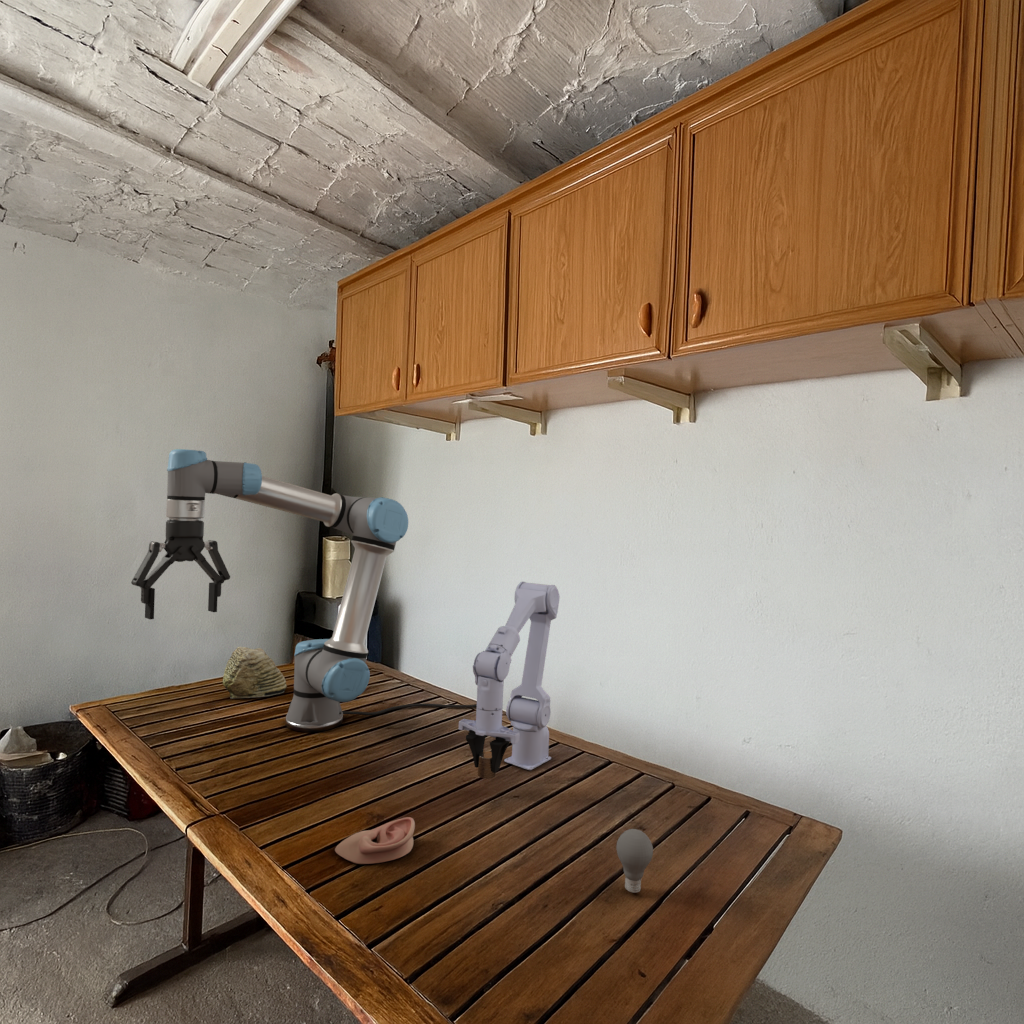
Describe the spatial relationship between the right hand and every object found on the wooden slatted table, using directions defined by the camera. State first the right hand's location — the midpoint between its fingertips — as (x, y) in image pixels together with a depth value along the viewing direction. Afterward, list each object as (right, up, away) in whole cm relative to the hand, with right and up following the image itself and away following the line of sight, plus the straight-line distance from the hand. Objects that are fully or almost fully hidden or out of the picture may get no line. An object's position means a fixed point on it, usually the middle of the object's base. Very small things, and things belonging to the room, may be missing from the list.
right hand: (486, 768), depth 139 cm
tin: (0, -1, 0) cm, 1 cm away
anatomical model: (-19, -5, -24) cm, 31 cm away
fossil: (-75, -1, +59) cm, 96 cm away
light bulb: (+26, -7, -33) cm, 43 cm away
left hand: (-68, +33, +2) cm, 76 cm away
